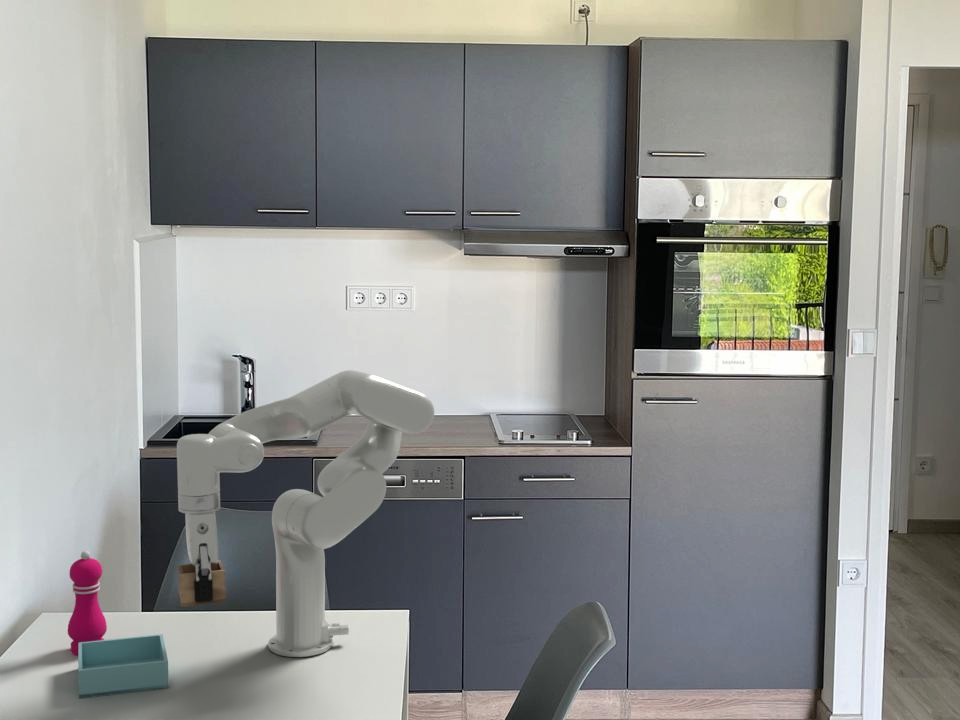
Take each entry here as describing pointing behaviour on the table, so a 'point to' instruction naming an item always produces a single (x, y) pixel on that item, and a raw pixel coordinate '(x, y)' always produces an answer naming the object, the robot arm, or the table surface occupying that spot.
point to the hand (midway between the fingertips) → (201, 594)
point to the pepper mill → (86, 602)
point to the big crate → (122, 665)
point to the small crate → (188, 577)
